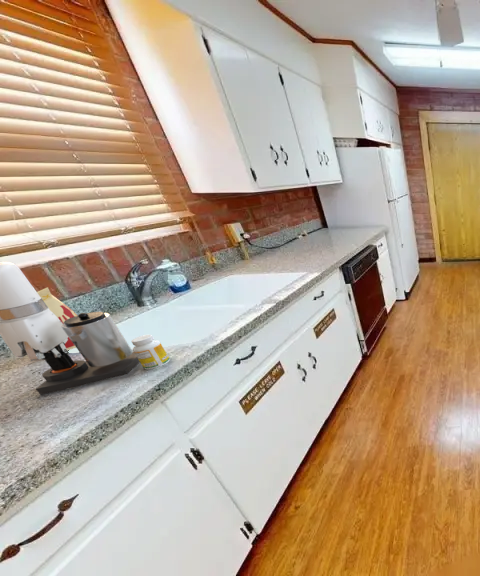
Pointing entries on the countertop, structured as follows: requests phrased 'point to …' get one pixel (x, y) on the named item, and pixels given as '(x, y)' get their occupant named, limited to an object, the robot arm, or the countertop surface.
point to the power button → (63, 369)
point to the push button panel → (85, 374)
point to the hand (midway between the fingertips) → (64, 367)
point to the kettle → (97, 338)
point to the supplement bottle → (149, 352)
